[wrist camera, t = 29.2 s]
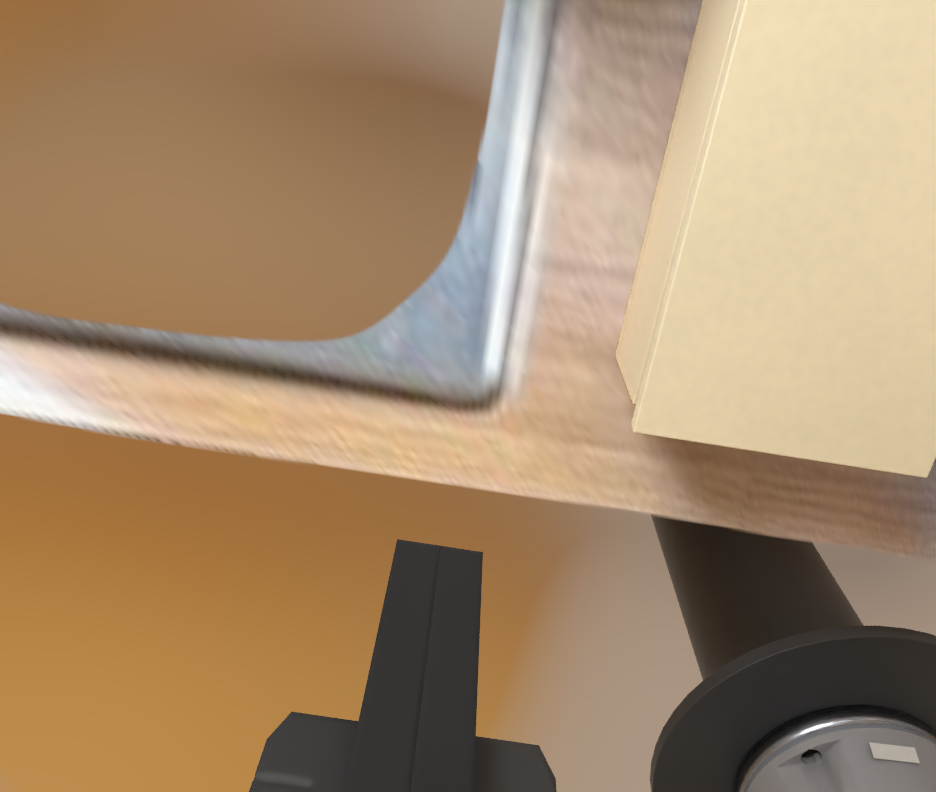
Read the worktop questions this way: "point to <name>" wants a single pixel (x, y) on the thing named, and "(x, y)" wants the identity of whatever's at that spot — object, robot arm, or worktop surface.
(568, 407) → the worktop surface
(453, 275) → the worktop surface
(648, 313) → the cream wooden crate
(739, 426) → the bin lid
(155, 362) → the worktop surface
